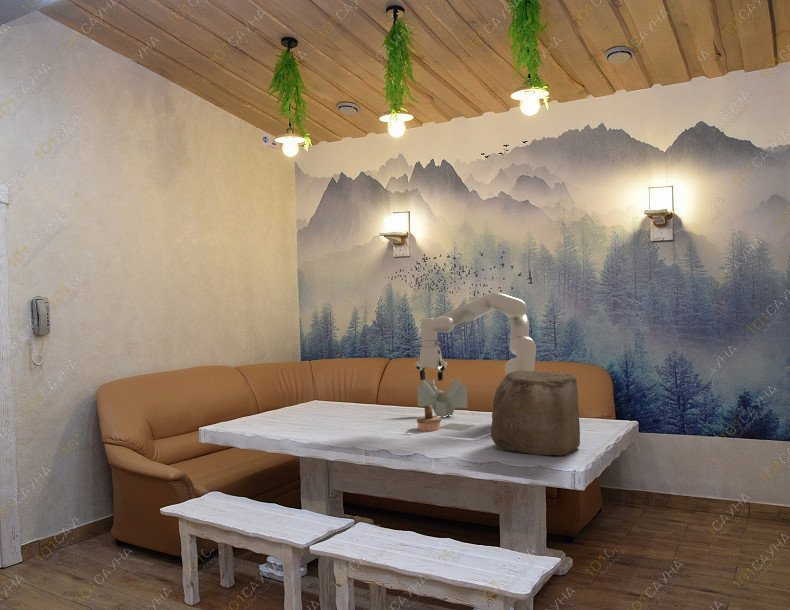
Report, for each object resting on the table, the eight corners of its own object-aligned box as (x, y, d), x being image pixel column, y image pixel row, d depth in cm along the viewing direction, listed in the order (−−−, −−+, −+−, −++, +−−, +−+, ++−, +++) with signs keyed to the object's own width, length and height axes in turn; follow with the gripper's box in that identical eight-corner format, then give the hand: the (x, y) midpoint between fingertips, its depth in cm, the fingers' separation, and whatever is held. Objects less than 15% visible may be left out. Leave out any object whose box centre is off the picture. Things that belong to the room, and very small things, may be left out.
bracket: (469, 416, 335) (468, 378, 335) (465, 418, 329) (464, 379, 329) (420, 414, 346) (419, 377, 346) (416, 416, 340) (414, 379, 340)
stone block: (478, 450, 256) (476, 376, 255) (507, 437, 275) (505, 368, 274) (560, 462, 234) (557, 381, 234) (585, 447, 254) (583, 372, 253)
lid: (445, 419, 301) (445, 404, 302) (433, 423, 292) (432, 408, 292) (424, 418, 308) (424, 403, 308) (411, 422, 298) (411, 406, 299)
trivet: (476, 427, 305) (476, 425, 305) (462, 432, 293) (461, 430, 293) (450, 424, 313) (450, 423, 313) (436, 429, 301) (435, 428, 301)
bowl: (443, 429, 301) (443, 419, 301) (432, 433, 293) (432, 423, 293) (425, 427, 307) (425, 418, 307) (414, 431, 299) (413, 421, 299)
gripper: (449, 343, 300) (451, 379, 300) (418, 343, 310) (420, 378, 310) (441, 344, 294) (443, 381, 294) (410, 344, 304) (411, 380, 304)
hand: (431, 380), depth 302 cm, fingers open, 9 cm apart
